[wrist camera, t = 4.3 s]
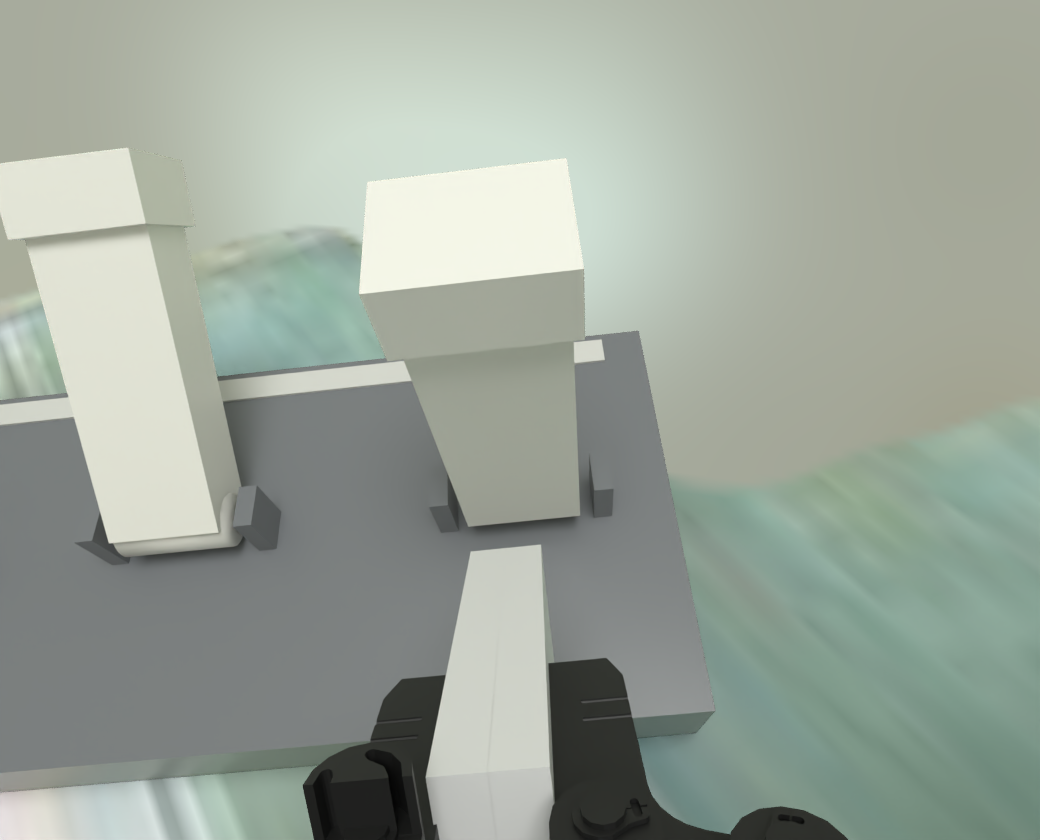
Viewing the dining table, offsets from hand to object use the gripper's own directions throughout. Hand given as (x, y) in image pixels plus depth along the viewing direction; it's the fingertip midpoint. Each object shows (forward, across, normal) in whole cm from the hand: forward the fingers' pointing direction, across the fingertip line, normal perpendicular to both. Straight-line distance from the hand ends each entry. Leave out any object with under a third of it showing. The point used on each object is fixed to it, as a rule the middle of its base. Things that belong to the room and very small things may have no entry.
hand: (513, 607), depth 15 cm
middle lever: (+8, -11, 0) cm, 14 cm away
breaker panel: (+12, -11, -4) cm, 17 cm away
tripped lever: (+8, 0, 0) cm, 8 cm away
